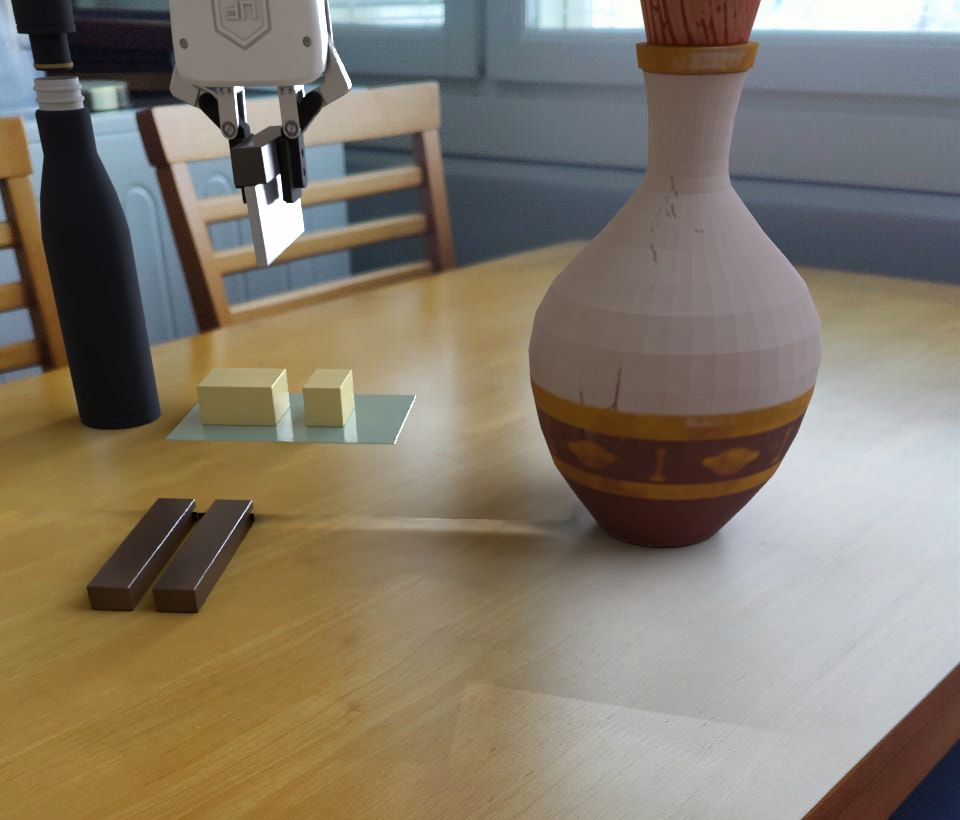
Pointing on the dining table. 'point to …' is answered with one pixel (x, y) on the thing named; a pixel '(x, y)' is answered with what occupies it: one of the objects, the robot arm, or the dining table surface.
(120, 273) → the black bottle
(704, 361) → the ceramic vase
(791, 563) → the dining table surface
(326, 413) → the butter pat
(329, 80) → the robot arm
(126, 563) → the stand
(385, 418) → the butter dish
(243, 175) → the black and grey blade
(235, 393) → the butter
